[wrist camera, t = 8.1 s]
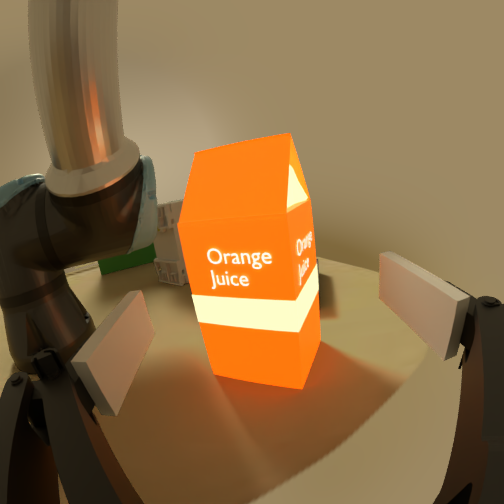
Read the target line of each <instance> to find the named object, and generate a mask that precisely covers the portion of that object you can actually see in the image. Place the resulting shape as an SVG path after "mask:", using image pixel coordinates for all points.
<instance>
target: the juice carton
mask: <svg viewBox="0 0 504 504" xmlns="http://www.w3.org/2000/svg"><path fill="white" fill-rule="evenodd" d="M177 225H178V231H179V236H180V241H181V246H182V251H183V255H184V260H185V265H186V269H187V274H188V278H189V282H190V287H191V291H192V298H193V302H194V306H195V310H196V314H197V318H198V322H199V323H200V327H201V331H202V335H203V338H204V342H205V346H206V349H207V353H208V356H209V360H210V363H211V367H212V370H213V373H214V374H216V375H220V376H225V377H230V378H235V379H240V380H245V381H250V382H256V383H262V384H268V385H274V386H281V387H288V388H296V389H303V386H304V384H305V381H306V378H307V376H308V373H309V371H310V368H311V365H312V363H313V360H314V357H315V354H316V352H317V349H318V346H319V343H320V314H319V294H318V290H319V285H318V270H317V264H316V252H315V240H314V229H313V219H312V209H311V201H310V197H309V194H308V190H307V187H306V183H305V180H304V176H303V173H302V170H301V167H300V163H299V160H298V157H297V153H296V150H295V147H294V144H293V141H292V138H291V135H290V133H287V134H281V135H275V136H269V137H264V138H259V139H253V140H248V141H243V142H238V143H234V144H229V145H225V146H220V147H216V148H212V149H208V150H204V151H200V152H196V153H195V156H194V160H193V164H192V168H191V172H190V176H189V180H188V184H187V188H186V192H185V197H184V201H183V205H182V210H181V214H180V219H179V223H177Z"/></svg>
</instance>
